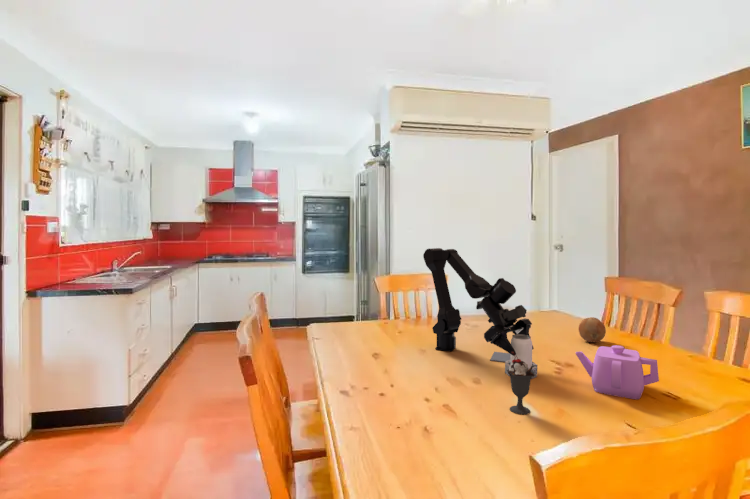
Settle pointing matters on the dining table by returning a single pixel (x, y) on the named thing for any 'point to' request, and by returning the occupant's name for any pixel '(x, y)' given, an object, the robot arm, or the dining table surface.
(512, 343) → the can
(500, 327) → the robot arm
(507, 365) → the holder
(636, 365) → the teakettle
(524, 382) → the sundae
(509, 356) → the mat
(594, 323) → the coconut
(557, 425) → the dining table surface
